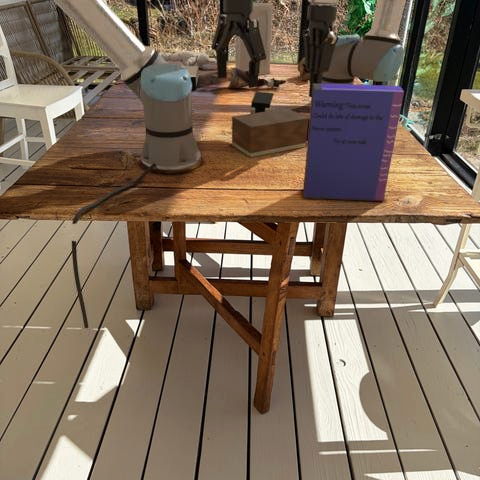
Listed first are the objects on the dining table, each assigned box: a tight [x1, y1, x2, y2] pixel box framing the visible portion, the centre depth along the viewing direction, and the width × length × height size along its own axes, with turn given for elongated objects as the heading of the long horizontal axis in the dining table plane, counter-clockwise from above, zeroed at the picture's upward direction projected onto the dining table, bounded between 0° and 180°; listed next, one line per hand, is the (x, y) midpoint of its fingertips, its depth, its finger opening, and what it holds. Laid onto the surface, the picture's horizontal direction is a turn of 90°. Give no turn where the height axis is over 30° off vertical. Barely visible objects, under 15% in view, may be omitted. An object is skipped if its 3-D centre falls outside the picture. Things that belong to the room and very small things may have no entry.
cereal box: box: [302, 84, 405, 202], centre depth 102 cm, size 17×5×24 cm, turn 86°
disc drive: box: [181, 65, 200, 91], centre depth 196 cm, size 18×22×5 cm
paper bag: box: [234, 1, 274, 76], centre depth 210 cm, size 19×15×28 cm
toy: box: [158, 50, 217, 69], centre depth 224 cm, size 24×25×7 cm
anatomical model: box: [297, 56, 310, 82], centre depth 207 cm, size 13×9×15 cm
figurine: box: [209, 66, 287, 89], centre depth 190 cm, size 24×8×30 cm
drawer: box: [293, 110, 310, 142], centre depth 136 cm, size 23×9×6 cm, turn 119°
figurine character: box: [249, 91, 274, 114], centre depth 154 cm, size 7×8×15 cm
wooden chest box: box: [231, 108, 308, 158], centre depth 133 cm, size 18×11×8 cm, turn 119°
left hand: (237, 82), depth 132 cm, fingers open, 13 cm apart
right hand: (314, 96), depth 135 cm, fingers closed
